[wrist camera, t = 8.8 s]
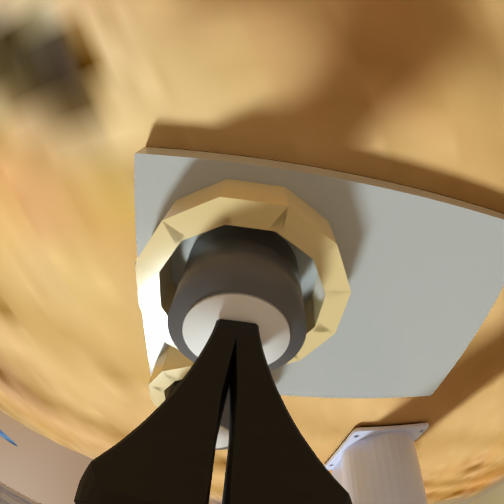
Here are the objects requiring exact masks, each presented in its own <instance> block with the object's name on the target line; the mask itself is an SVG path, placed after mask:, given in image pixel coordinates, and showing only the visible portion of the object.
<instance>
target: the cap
mask: <svg viewBox="0 0 504 504" xmlns="http://www.w3.org/2000/svg"><path fill="white" fill-rule="evenodd" d="M219 319H226V320H233V321H241V322H249V323H256V324H257V325H258V326H259V333H260V339H261V343H262V347H263V351H264V354H265V358H266V361H267V364H268V367H269V369H270V371H272V370H275V369H277V368H279V367H281V366H283V365H285V364H286V363H287V362H289V361H290V360H292V359H293V358H294V357H295V356H296V355H297V353H298V352H299V351H300V349H301V348H302V346H303V344H304V341H305V339H306V333H307V326H306V318H305V311H304V303H303V296H302V289H301V282H300V276H299V269H298V263H297V259H296V256H295V254H294V252H293V250H292V248H291V247H290V246H289V244H288V243H287V242H286V241H285V240H284V239H283V238H282V237H281V236H279V235H278V234H277V233H275V232H274V231H269V230H262V229H254V228H247V227H240V226H232V225H222V226H220V227H217V228H214V229H212V230H210V231H208V232H207V233H205V234H204V235H203V236H202V237H201V238H199V239H198V240H197V242H196V243H195V244H194V246H193V248H192V249H191V251H190V254H189V257H188V259H187V262H186V265H185V268H184V270H183V273H182V276H181V279H180V281H179V284H178V287H177V290H176V293H175V296H174V298H173V301H172V304H171V307H170V310H169V313H168V318H167V326H168V331H169V335H170V337H171V339H172V341H173V343H174V345H175V346H176V347H177V348H178V350H179V351H180V352H181V353H182V354H183V355H184V356H185V357H187V358H188V359H189V360H191V361H192V362H195V361H196V359H197V358H198V356H199V354H200V353H201V351H202V350H203V348H204V346H205V345H206V343H207V341H208V339H209V337H210V335H211V333H212V331H213V329H214V327H215V324H216V321H217V320H219Z"/></svg>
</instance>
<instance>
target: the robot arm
mask: <svg viewBox="0 0 504 504" xmlns="http://www.w3.org/2000/svg"><path fill="white" fill-rule="evenodd" d="M228 390H229V441H228V454H227V463H226V472H225V481H224V490H223V499H222V504H428V503H427V498H426V493H425V488H424V483H423V478H422V474H421V469H420V465H419V461H418V456H417V452H416V448H415V444H414V441H415V440H416V439H417V438H419V437H420V436H421V435H422V434H423V433H424V432H425V431H426V430H427V429H428V427H429V424H428V423H418V424H408V425H396V426H382V427H360V428H356V429H354V430H353V431H352V432H351V433H350V435H349V436H348V437H347V439H346V440H345V441H344V442H343V443H342V445H341V446H340V447H339V448H338V450H337V451H336V452H335V453H334V454H333V456H332V457H331V458H330V459H329V460H328V461H327V463H326V464H325V465H323V464H322V463H321V461H320V460H319V459H318V458H317V456H316V455H315V453H314V452H313V450H312V449H311V448H310V446H309V445H308V443H307V442H306V441H305V439H304V438H303V436H302V435H301V433H300V431H299V430H298V428H297V426H296V425H295V423H294V421H293V420H292V418H291V416H290V414H289V412H288V411H287V409H286V407H285V405H284V403H283V401H282V399H281V396H280V394H279V392H278V390H277V387H276V385H275V383H274V380H273V378H272V375H271V372H270V369H269V367H268V364H267V361H266V358H265V354H264V351H263V347H262V343H261V339H260V333H259V326H258V325H257V324H256V323H249V322H241V321H233V320H226V319H219V320H217V321H216V324H215V327H214V329H213V331H212V333H211V335H210V337H209V339H208V341H207V343H206V345H205V346H204V348H203V350H202V351H201V353H200V354H199V356H198V358H197V359H196V361H195V362H194V364H193V365H192V367H191V368H190V370H189V371H188V372H187V374H186V375H185V376H184V378H183V379H182V380H181V382H180V383H179V384H178V385H177V387H176V388H175V389H174V390H173V392H172V393H171V394H170V395H169V396H168V397H167V398H166V399H165V401H164V402H163V403H162V404H161V405H160V406H159V407H158V408H157V409H156V410H155V411H154V412H153V413H152V414H151V415H150V416H149V417H148V418H147V419H146V420H145V421H144V422H143V423H141V424H140V425H139V426H138V427H137V428H136V429H134V430H133V431H132V432H131V433H130V434H128V435H127V436H126V437H125V438H124V439H122V440H121V441H120V442H118V443H117V444H116V445H114V446H113V447H112V448H110V449H109V450H107V451H106V452H104V453H103V454H101V455H100V456H98V457H97V458H95V459H94V460H93V461H91V463H90V464H89V466H88V467H87V469H86V470H85V472H84V474H83V476H82V478H81V480H80V482H79V485H78V489H77V492H76V496H75V500H74V502H75V504H209V496H210V488H211V480H212V472H213V464H214V456H215V448H216V443H217V437H218V433H219V429H220V424H221V420H222V416H223V411H224V407H225V403H226V398H227V394H228ZM328 470H332V475H331V473H330V472H329V471H328ZM0 504H41V503H38V502H36V501H34V500H32V499H30V498H29V497H27V496H25V495H23V494H21V493H19V492H17V491H16V490H14V489H12V488H10V487H9V486H7V485H5V484H3V483H2V482H0Z"/></svg>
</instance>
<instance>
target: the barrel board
mask: <svg viewBox="0 0 504 504" xmlns="http://www.w3.org/2000/svg"><path fill="white" fill-rule="evenodd" d="M135 222H136V243H137V261H136V262H135V266H136V278H137V289H138V299H139V307H140V309H141V310H142V314H143V322H144V331H145V338H146V346H147V353H148V359H149V366H150V372H151V378H150V381H149V384H148V385H149V391H150V396H151V401H152V403H153V404H154V405H155V406H157V407H159V406H160V405H161V404H162V403H163V402H164V401H165V399H166V398H167V397H168V396H169V395H170V394H171V393H172V392H173V390H174V389H175V388H176V387H177V385H178V384H179V383H180V382H181V380H182V379H183V378H184V376H185V375H186V374H187V372H188V371H189V370H190V368H191V367H192V365H193V364H194V362H192V361H191V360H189V359H188V358H187V357H185V356H184V355H183V354H182V353H181V352H180V351H179V350H178V348H177V347H176V346H175V345H174V343H173V341H172V339H171V337H170V335H169V331H168V326H167V318H168V313H169V310H170V307H171V304H172V301H173V298H174V296H175V293H176V290H177V287H178V284H179V281H180V279H181V276H182V273H183V270H184V268H185V265H186V262H187V259H188V257H189V254H190V251H191V249H192V248H193V246H194V244H195V243H196V242H197V240H198V239H199V238H201V237H202V236H203V235H204V234H205V233H207V232H208V231H210V230H212V229H214V228H217V227H220V226H222V225H232V226H240V227H247V228H254V229H262V230H269V231H274V232H275V233H277V234H278V235H279V236H281V237H282V238H283V239H284V240H285V241H286V242H287V243H288V244H289V246H290V247H291V248H292V250H293V252H294V254H295V256H296V259H297V263H298V269H299V276H300V282H301V289H302V296H303V303H304V311H305V318H306V326H307V333H306V339H305V341H304V344H303V346H302V348H301V349H300V351H299V352H298V353H297V355H296V356H295V357H294V358H293V359H292V360H290V361H289V362H287V363H286V364H285V365H283V366H281V367H279V368H277V369H275V370H272V371H270V372H271V375H272V378H273V380H274V383H275V385H276V387H277V390H278V392H279V394H280V395H288V396H304V397H325V398H396V397H417V396H431V395H432V394H433V393H434V392H435V390H436V389H437V388H438V386H439V385H440V384H441V383H442V381H443V380H444V379H445V377H446V376H447V375H448V373H449V372H450V371H451V369H452V368H453V367H454V365H455V364H456V362H457V361H458V360H459V358H460V357H461V355H462V354H463V352H464V351H465V349H466V348H467V347H468V345H469V344H470V342H471V340H472V339H473V337H474V336H475V334H476V333H477V331H478V330H479V328H480V326H481V325H482V323H483V321H484V320H485V318H486V316H487V315H488V313H489V311H490V310H491V308H492V306H493V304H494V303H495V301H496V299H497V297H498V295H499V294H500V292H501V290H502V288H503V286H504V214H503V213H500V212H497V211H493V210H490V209H487V208H484V207H481V206H477V205H474V204H471V203H467V202H464V201H461V200H457V199H454V198H450V197H446V196H443V195H439V194H435V193H432V192H428V191H424V190H420V189H416V188H412V187H408V186H404V185H400V184H395V183H391V182H387V181H382V180H378V179H373V178H369V177H364V176H359V175H354V174H349V173H344V172H339V171H334V170H329V169H323V168H318V167H312V166H306V165H300V164H294V163H288V162H281V161H275V160H268V159H261V158H253V157H246V156H238V155H230V154H221V153H212V152H202V151H192V150H180V149H168V148H154V147H144V148H142V149H141V150H139V151H138V152H136V153H135ZM228 441H229V390H228V394H227V398H226V403H225V407H224V411H223V416H222V420H221V424H220V429H219V433H218V437H217V443H216V448H215V450H223V449H228Z"/></svg>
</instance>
